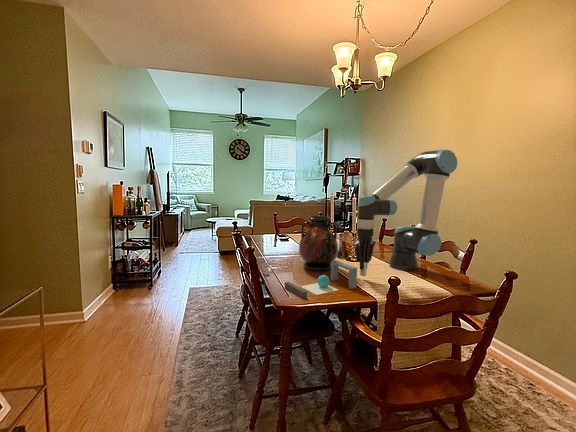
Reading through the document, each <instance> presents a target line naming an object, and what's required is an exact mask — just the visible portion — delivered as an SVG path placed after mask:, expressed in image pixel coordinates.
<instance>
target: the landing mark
mask: <svg viewBox="0 0 576 432" xmlns="http://www.w3.org/2000/svg"><path fill="white" fill-rule="evenodd" d="M299 288H301V289H303V290H305V291H307V292H310V293H311V294H314V296H319V295H324V294H328V293H333V292H337V291H339V289H337V288H336V287H334V286H331V285H330V284H329V285H328V286H327V287H325V288H323V287H320V286H319V285H318V282H314V283H311V284H306V285H300V287H299Z"/></svg>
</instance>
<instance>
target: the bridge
mask: <svg viewBox="0 0 576 432" xmlns="http://www.w3.org/2000/svg"><path fill="white" fill-rule="evenodd" d="M339 267H340V268H343V269H345V270H347V271H348V288H349V289H357V284H358V283H357V281H358V267H356V266H353V265H350V264H348V263H345V262H341V261H340V260H339V261H338V260H336V259H335V260H334V261H331V269H330V278H329V280H330V281H332V282H333V281H334V282H335V281H339Z"/></svg>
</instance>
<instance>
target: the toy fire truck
mask: <svg viewBox="0 0 576 432" xmlns="http://www.w3.org/2000/svg"><path fill="white" fill-rule="evenodd" d="M346 244H347V243H346V241H344V240H343V239H341V238H340V239H339V241H338V255H337V257H336V259H337V258H341V257H343V258H345V259H347V257H348V258H349V257H350V256H349V255H350V254H349V253H350V252H349V250H347V249H346V248H347V247H346Z"/></svg>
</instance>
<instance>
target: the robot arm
mask: <svg viewBox="0 0 576 432" xmlns="http://www.w3.org/2000/svg"><path fill="white" fill-rule="evenodd" d="M457 167H458V158H457V156H456V154H455V153H454V152H453V150H450V149H438V150H430V151H423V152H421V153H419V154H417V155H416V156H414V157H413V158H411V159H410V160H409V161H407V162H406V163H405V164H404V165H403V168H402V169H400V170H399V171H398V172H397V173H396V174H395V175H393V176H392V177H390V179H388V180H387V181H386V182H385V183H383V185H381V186H380V187H378V189H376V190H375V191H374V192H372V193H371V194H370V195H359V197H358V203H357V204H358V206H357V207H358V208H357V210H358V213H357V228H356V229H357V231H356V235H357V236H358V237H357V239H356V240H357V241H356V242H353V244H352V245H353V246H354V252H355V260H356V262H358V263H359V270H360V271H359V275H360V276H361V277H367V272H368V271H367V270H368V265H369V264H370V262H371V261H372V258H373V252H374V247H375V245H376V241H375V240H373V236H374V227H375V225H374V224H375V216H393V215H395V214H396V213H397V211H398V204H397V202H396V201H395V200H393V199H390V198H391V197H393V196H395V194H396V193H397V192H399V191H400V190H401V189H402V188H403V187H405V185H407V184H408V183H409V182H411V181H412V180H413V179H417V178H419V176H422V175H424V177H425V178H426V182H425V186H424V192H423V197H422V202H421V207H420V212H419V217H418V221H417V222H418V223H417V224H416V225H414V226H397V227H395V228H394V235H393V236H394V237H393V252H392V256H391V258H390V260H389V267H391V268H393V269H396V270H402V271H416V270H419V269H418V268H419V263H418V259H417V256H416V254H419V255H421V256H425V257H430V256H434V255H435V254H437V252H439V251H440V248H441V246H442V239H441V237H440V236H439V230H438V229H437V223H438V218H439V213H440V208H441V203H442V198H443V192H444V187H445V183H446V181H447V180H449V178H450V175H451V173H454V172H455V170H456V169H457Z"/></svg>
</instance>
